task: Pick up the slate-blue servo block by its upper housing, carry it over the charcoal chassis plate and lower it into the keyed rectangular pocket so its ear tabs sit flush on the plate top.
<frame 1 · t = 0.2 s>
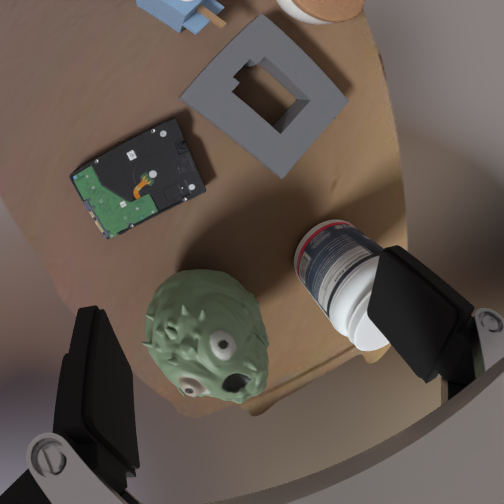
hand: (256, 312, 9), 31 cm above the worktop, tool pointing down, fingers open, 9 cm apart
chassis plate: (261, 95, 34), on the worktop
supplement tub: (324, 250, 50), on the worktop
servo: (170, 6, 25), on the worktop
disk drive: (137, 176, 35), on the worktop
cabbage: (196, 290, 46), on the worktop
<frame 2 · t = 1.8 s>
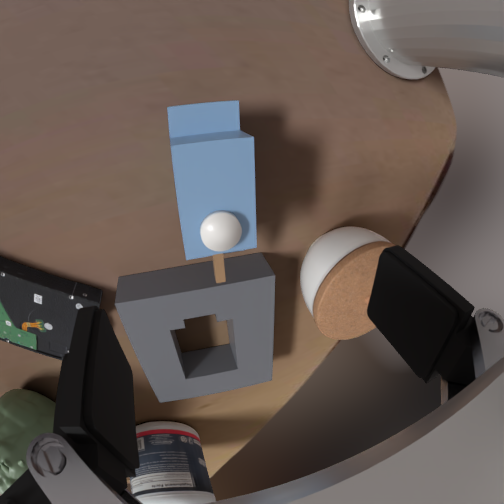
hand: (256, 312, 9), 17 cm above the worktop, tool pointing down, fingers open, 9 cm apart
chassis plate: (200, 325, 32), on the worktop
supplement tub: (161, 432, 42), on the worktop
servo: (200, 167, 23), on the worktop
disk drive: (36, 303, 25), on the worktop
lidded jar: (329, 254, 32), on the worktop
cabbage: (37, 397, 31), on the worktop
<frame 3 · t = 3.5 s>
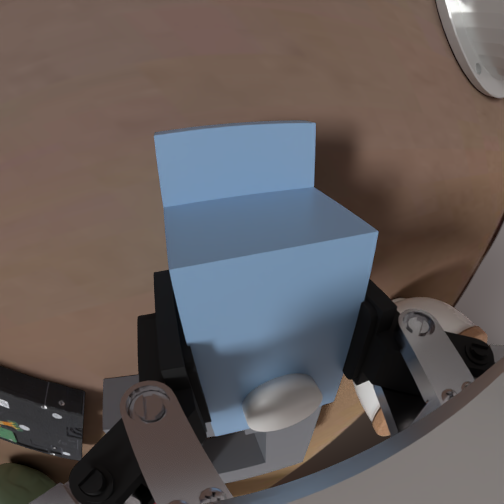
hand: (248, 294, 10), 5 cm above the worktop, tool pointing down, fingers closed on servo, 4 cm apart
chassis plate: (217, 418, 22), on the worktop
servo: (219, 233, 14), on the worktop, touching gripper
disk drive: (6, 392, 16), on the worktop
lidded jar: (383, 325, 23), on the worktop
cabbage: (28, 467, 21), on the worktop
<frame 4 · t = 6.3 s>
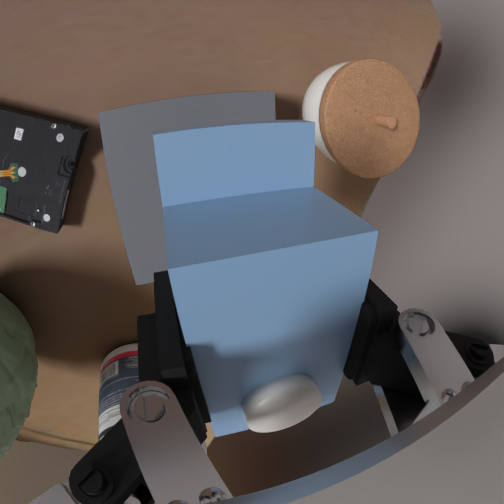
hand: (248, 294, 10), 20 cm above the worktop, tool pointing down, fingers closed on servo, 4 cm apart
chassis plate: (192, 179, 27), on the worktop
supplement tub: (144, 366, 38), on the worktop
servo: (218, 233, 14), point 15 cm above the worktop, touching gripper
disk drive: (15, 159, 21), on the worktop
lidded jar: (331, 109, 28), on the worktop
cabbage: (2, 309, 27), on the worktop
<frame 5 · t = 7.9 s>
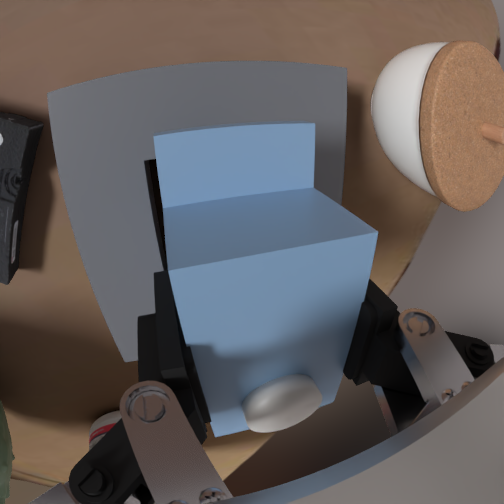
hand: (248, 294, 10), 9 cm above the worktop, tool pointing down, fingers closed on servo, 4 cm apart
chassis plate: (204, 203, 18), on the worktop
supplement tub: (142, 428, 28), on the worktop
servo: (219, 234, 14), point 4 cm above the worktop, touching gripper
lidded jar: (398, 108, 18), on the worktop
when the fingers open (6 cm above the worktop, at t = 9.2 s): servo stays where it is, resting on chassis plate.
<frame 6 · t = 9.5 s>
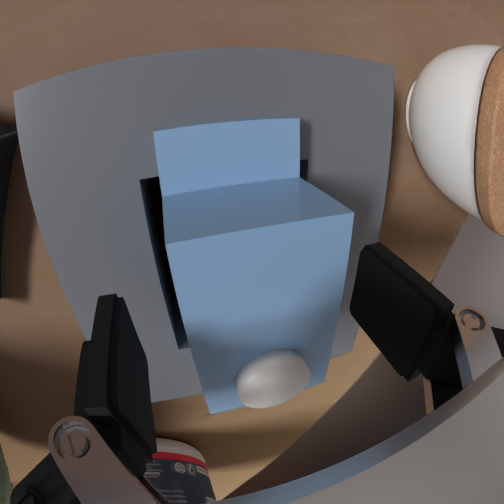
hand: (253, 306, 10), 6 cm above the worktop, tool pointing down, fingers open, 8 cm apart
chassis plate: (215, 225, 15), on the worktop
supplement tub: (145, 453, 25), on the worktop
servo: (215, 224, 15), resting on chassis plate
lidded jar: (432, 114, 16), on the worktop
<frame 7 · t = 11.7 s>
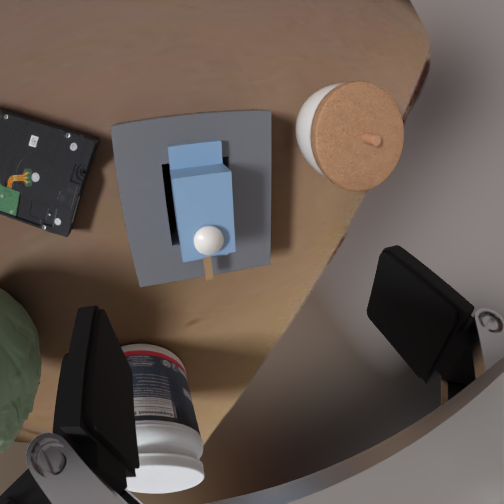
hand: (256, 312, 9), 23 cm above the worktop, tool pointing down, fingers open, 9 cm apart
chassis plate: (193, 190, 30), on the worktop
supplement tub: (142, 367, 40), on the worktop
servo: (193, 189, 30), resting on chassis plate
disk drive: (28, 165, 23), on the worktop
lidded jar: (322, 127, 31), on the worktop
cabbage: (6, 309, 28), on the worktop
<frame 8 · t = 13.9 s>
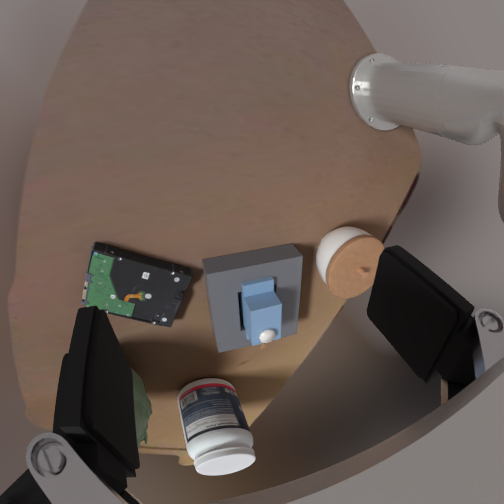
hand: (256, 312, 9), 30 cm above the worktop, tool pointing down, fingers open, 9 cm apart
chassis plate: (250, 293, 48), on the worktop
supplement tub: (205, 391, 59), on the worktop
servo: (250, 293, 48), resting on chassis plate
disk drive: (134, 281, 42), on the worktop
lidded jar: (333, 245, 49), on the worktop
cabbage: (108, 365, 48), on the worktop
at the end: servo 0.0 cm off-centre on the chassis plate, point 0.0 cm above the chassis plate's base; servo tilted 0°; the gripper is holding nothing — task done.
